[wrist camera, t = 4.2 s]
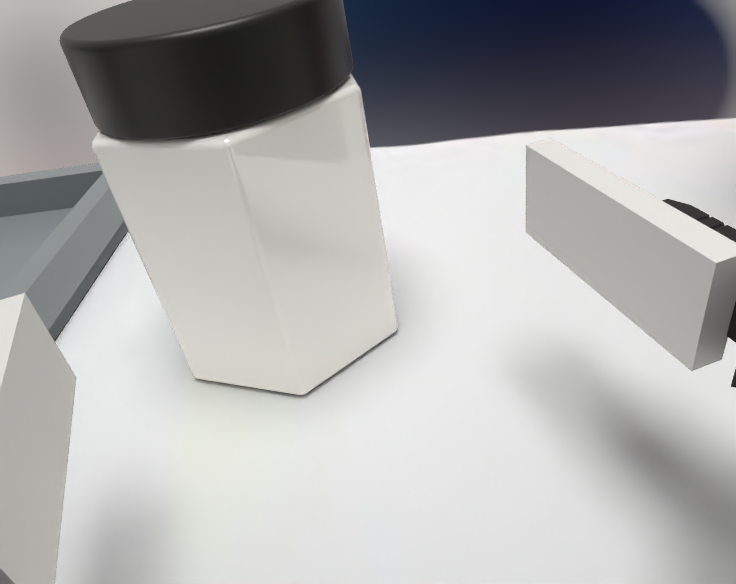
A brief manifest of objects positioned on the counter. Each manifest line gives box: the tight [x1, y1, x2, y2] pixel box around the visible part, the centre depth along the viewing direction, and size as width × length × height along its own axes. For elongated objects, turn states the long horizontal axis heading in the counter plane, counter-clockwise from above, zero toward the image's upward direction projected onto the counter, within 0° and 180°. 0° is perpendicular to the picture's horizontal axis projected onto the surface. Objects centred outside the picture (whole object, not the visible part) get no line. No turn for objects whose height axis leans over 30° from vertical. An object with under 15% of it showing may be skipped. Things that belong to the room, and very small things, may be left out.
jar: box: [60, 0, 398, 395], centre depth 21 cm, size 9×8×12 cm
